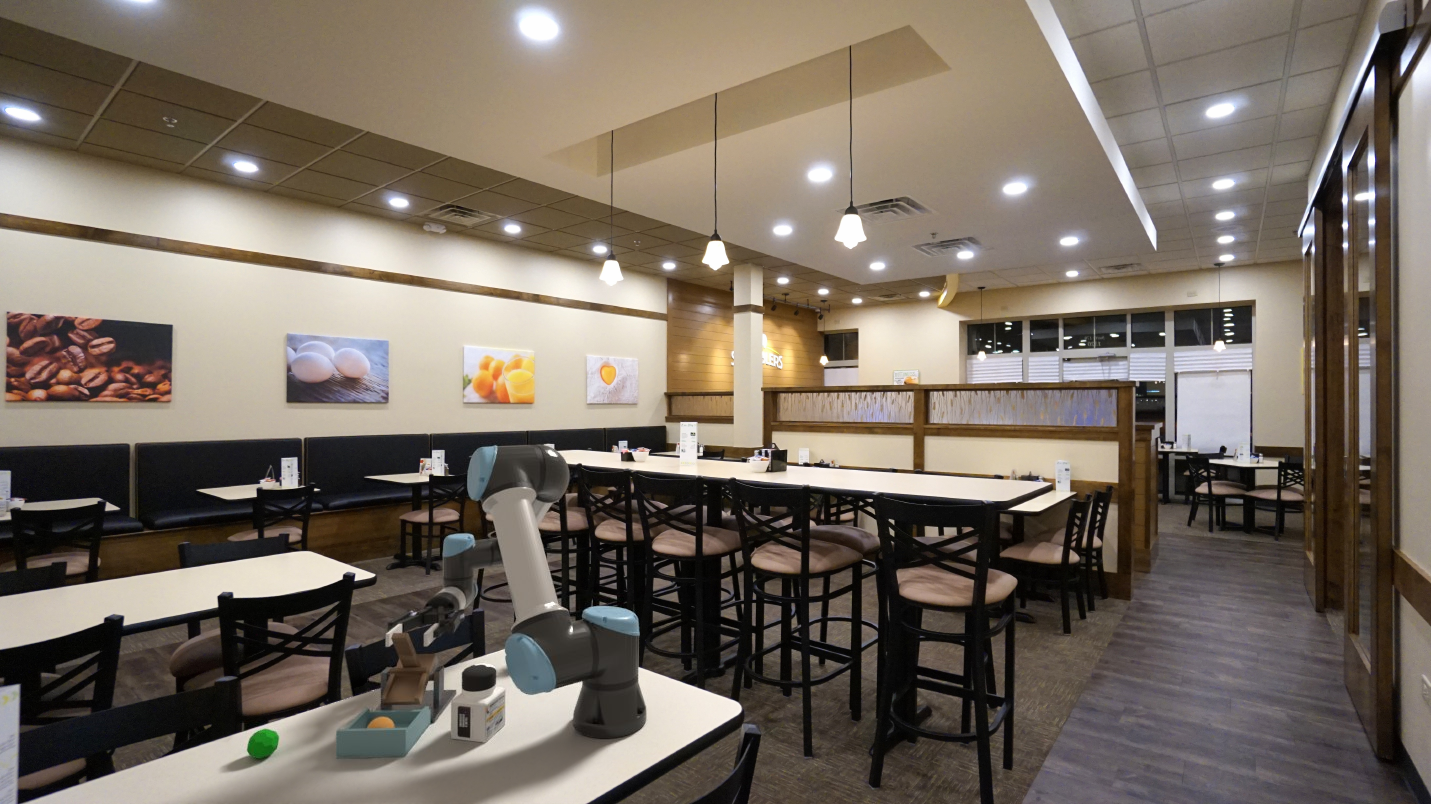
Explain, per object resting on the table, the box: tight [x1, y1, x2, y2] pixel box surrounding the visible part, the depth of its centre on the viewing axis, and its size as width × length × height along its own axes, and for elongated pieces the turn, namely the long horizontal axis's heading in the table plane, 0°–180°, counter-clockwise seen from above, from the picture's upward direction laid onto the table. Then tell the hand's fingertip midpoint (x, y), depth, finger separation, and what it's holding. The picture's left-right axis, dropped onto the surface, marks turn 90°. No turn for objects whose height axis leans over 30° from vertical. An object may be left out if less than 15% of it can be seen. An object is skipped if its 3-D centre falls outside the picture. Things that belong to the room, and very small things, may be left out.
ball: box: [367, 717, 395, 728], centre depth 127 cm, size 5×5×5 cm
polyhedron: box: [246, 728, 280, 760], centre depth 123 cm, size 5×5×5 cm
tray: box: [335, 706, 431, 759], centre depth 129 cm, size 13×13×5 cm
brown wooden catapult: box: [382, 632, 440, 705], centre depth 139 cm, size 12×9×17 cm
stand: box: [374, 665, 457, 724], centre depth 143 cm, size 14×14×8 cm
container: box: [450, 662, 506, 743], centre depth 133 cm, size 8×8×13 cm
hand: (406, 640), depth 139 cm, fingers open, 7 cm apart
